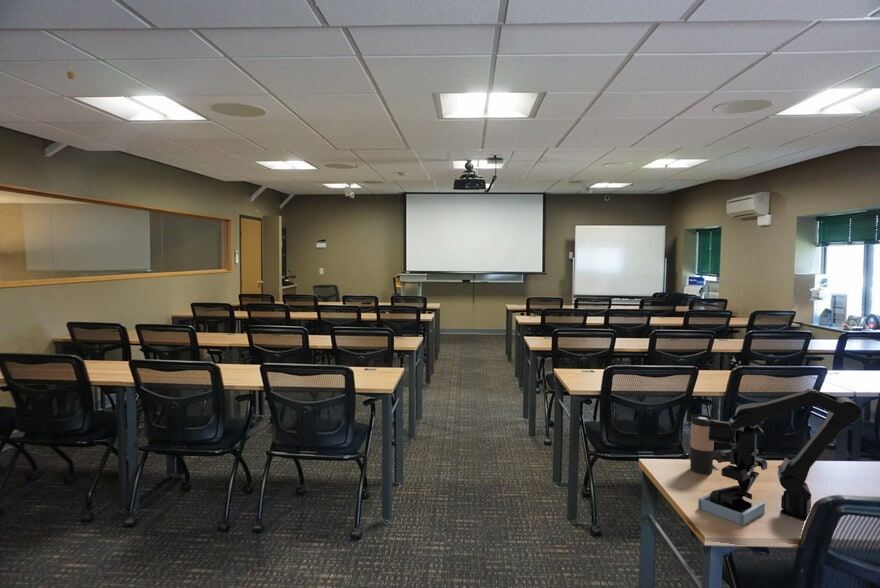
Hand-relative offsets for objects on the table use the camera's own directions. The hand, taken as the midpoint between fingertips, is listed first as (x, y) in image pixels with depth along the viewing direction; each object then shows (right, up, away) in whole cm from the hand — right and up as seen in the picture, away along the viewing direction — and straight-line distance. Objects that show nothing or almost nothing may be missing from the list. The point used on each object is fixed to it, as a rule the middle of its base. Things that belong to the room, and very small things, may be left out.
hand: (743, 494), depth 159 cm
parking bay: (-7, -3, -5) cm, 9 cm away
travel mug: (0, -2, +27) cm, 27 cm away
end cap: (-7, -3, -5) cm, 9 cm away
